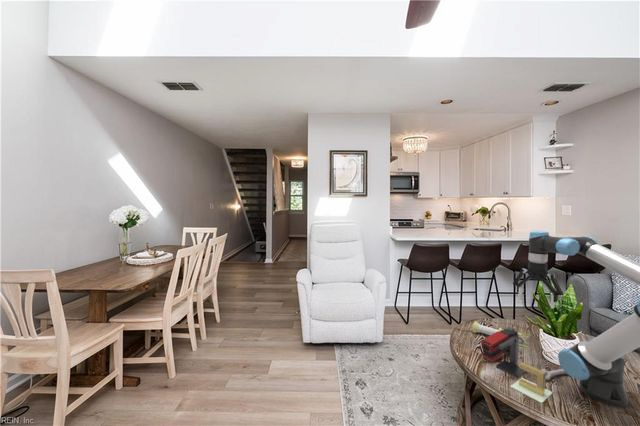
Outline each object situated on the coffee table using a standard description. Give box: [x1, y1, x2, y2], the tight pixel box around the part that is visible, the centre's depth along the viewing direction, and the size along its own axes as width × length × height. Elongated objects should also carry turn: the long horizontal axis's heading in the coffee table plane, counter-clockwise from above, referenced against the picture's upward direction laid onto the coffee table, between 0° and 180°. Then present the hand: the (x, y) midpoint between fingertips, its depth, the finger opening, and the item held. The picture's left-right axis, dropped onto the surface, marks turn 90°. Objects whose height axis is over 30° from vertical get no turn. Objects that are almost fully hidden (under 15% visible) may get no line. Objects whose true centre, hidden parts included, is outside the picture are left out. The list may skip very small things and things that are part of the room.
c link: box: [518, 362, 546, 396], centre depth 124 cm, size 9×2×10 cm, turn 32°
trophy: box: [472, 320, 531, 351], centre depth 170 cm, size 8×8×30 cm
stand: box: [495, 336, 528, 379], centre depth 137 cm, size 10×17×16 cm, turn 122°
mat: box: [509, 377, 554, 404], centre depth 125 cm, size 12×12×1 cm
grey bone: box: [540, 367, 569, 381], centre depth 134 cm, size 18×5×4 cm
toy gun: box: [480, 326, 519, 364], centre depth 151 cm, size 5×24×15 cm, turn 112°
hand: (535, 303), depth 138 cm, fingers open, 13 cm apart
